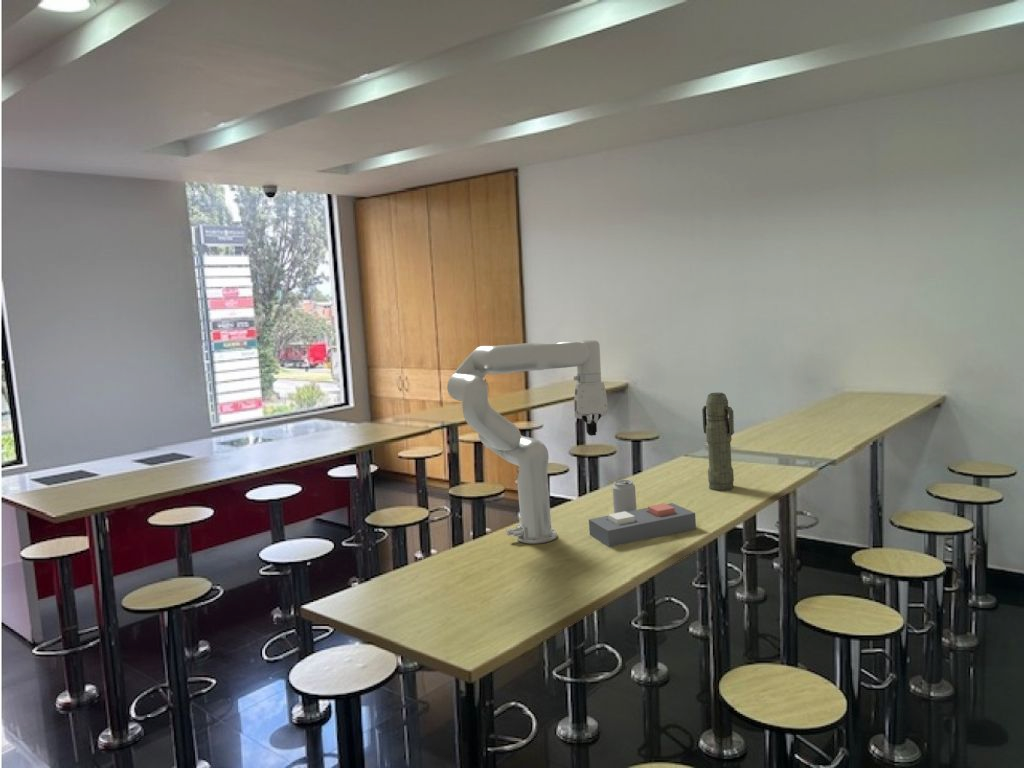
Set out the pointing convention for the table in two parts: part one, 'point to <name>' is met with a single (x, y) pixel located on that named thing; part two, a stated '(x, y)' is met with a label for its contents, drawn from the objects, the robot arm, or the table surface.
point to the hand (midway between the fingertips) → (591, 434)
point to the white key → (621, 518)
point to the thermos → (719, 441)
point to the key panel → (641, 526)
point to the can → (624, 496)
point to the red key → (661, 510)
